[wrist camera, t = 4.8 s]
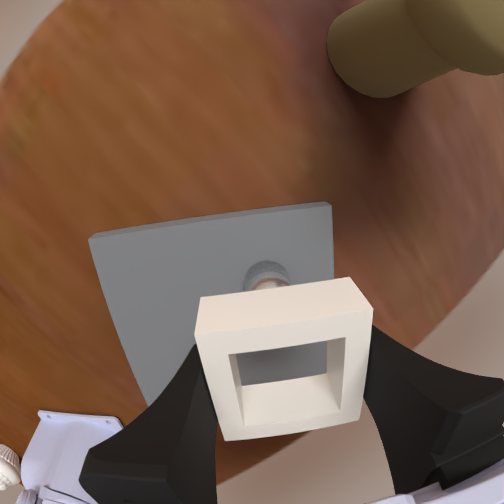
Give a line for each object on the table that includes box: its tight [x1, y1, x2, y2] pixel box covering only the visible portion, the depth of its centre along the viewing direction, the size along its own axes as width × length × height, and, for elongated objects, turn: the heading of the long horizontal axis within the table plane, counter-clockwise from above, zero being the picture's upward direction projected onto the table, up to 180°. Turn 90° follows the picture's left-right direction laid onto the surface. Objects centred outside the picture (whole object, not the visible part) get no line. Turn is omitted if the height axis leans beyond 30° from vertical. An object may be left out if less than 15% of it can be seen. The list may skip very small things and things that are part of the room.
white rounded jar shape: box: [0, 444, 21, 490], centre depth 24 cm, size 6×6×7 cm
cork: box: [326, 0, 504, 98], centre depth 10 cm, size 6×6×11 cm
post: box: [244, 261, 292, 292], centre depth 17 cm, size 3×3×4 cm
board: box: [88, 201, 334, 407], centre depth 20 cm, size 14×14×1 cm
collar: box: [194, 277, 373, 441], centre depth 12 cm, size 6×6×2 cm
